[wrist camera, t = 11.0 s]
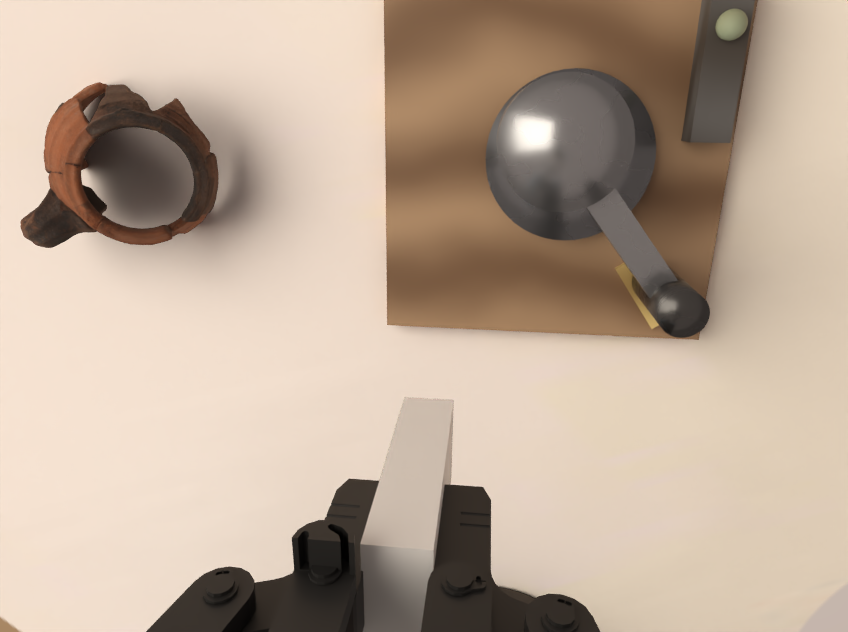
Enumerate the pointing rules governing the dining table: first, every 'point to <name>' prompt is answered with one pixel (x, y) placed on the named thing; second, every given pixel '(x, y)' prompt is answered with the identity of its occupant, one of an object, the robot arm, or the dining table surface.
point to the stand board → (468, 135)
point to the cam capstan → (587, 179)
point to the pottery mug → (64, 159)
